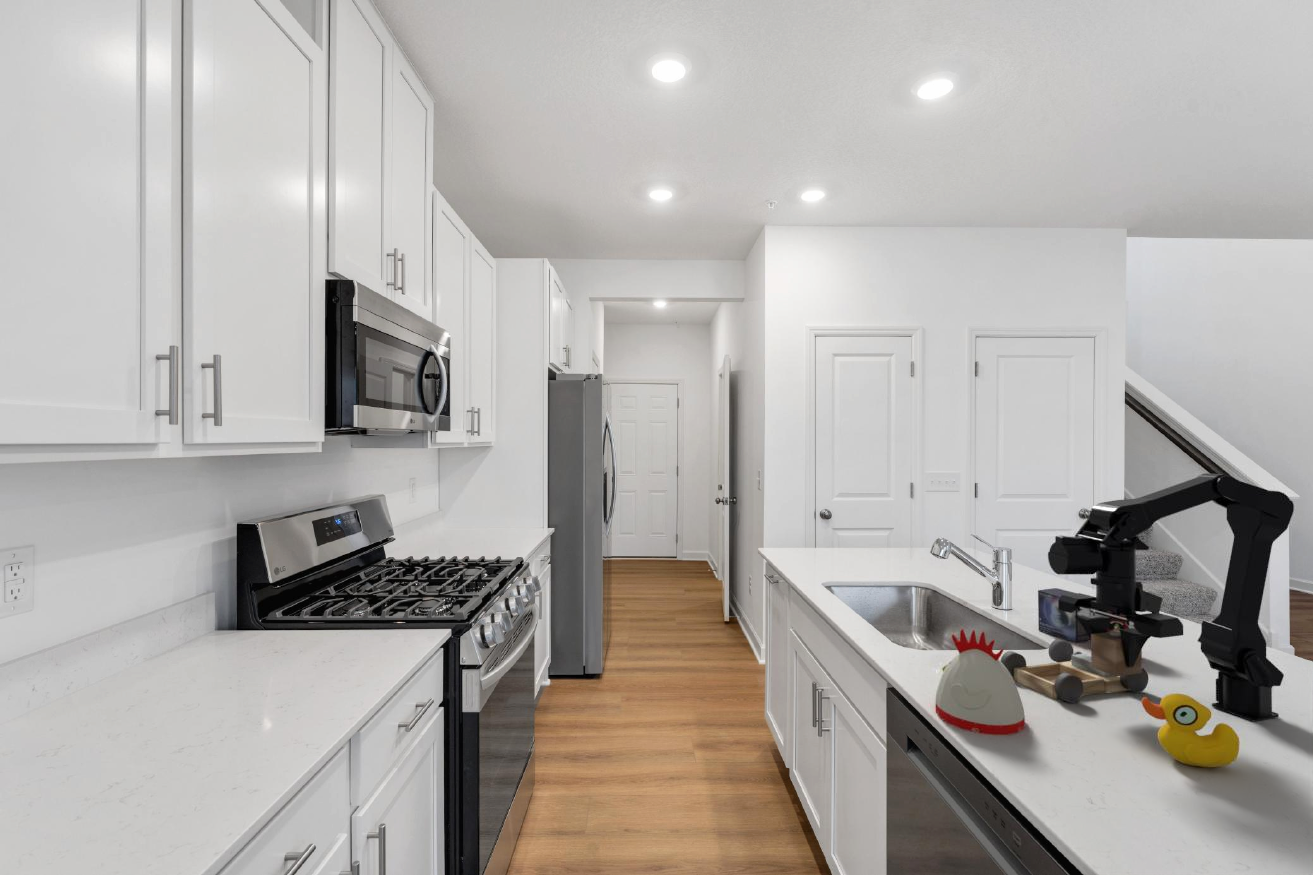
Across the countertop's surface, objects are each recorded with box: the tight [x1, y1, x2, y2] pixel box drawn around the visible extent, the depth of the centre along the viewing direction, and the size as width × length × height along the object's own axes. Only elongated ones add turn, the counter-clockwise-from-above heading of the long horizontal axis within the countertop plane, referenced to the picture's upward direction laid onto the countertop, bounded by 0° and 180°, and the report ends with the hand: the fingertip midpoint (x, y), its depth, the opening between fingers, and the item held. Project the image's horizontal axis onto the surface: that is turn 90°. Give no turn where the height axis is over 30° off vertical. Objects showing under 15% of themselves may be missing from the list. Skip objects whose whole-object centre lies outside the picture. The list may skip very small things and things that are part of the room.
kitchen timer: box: [935, 628, 1026, 736], centre depth 109 cm, size 14×14×15 cm
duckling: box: [1141, 693, 1240, 768], centre depth 93 cm, size 11×5×10 cm, turn 66°
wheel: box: [1048, 638, 1075, 663], centre depth 135 cm, size 2×5×5 cm, turn 106°
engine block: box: [1090, 630, 1143, 676], centre depth 111 cm, size 4×6×7 cm
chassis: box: [1000, 650, 1149, 704], centre depth 123 cm, size 14×21×5 cm
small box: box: [1037, 587, 1091, 644], centre depth 154 cm, size 11×6×10 cm, turn 17°
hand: (1116, 662), depth 111 cm, fingers closed on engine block, 4 cm apart
